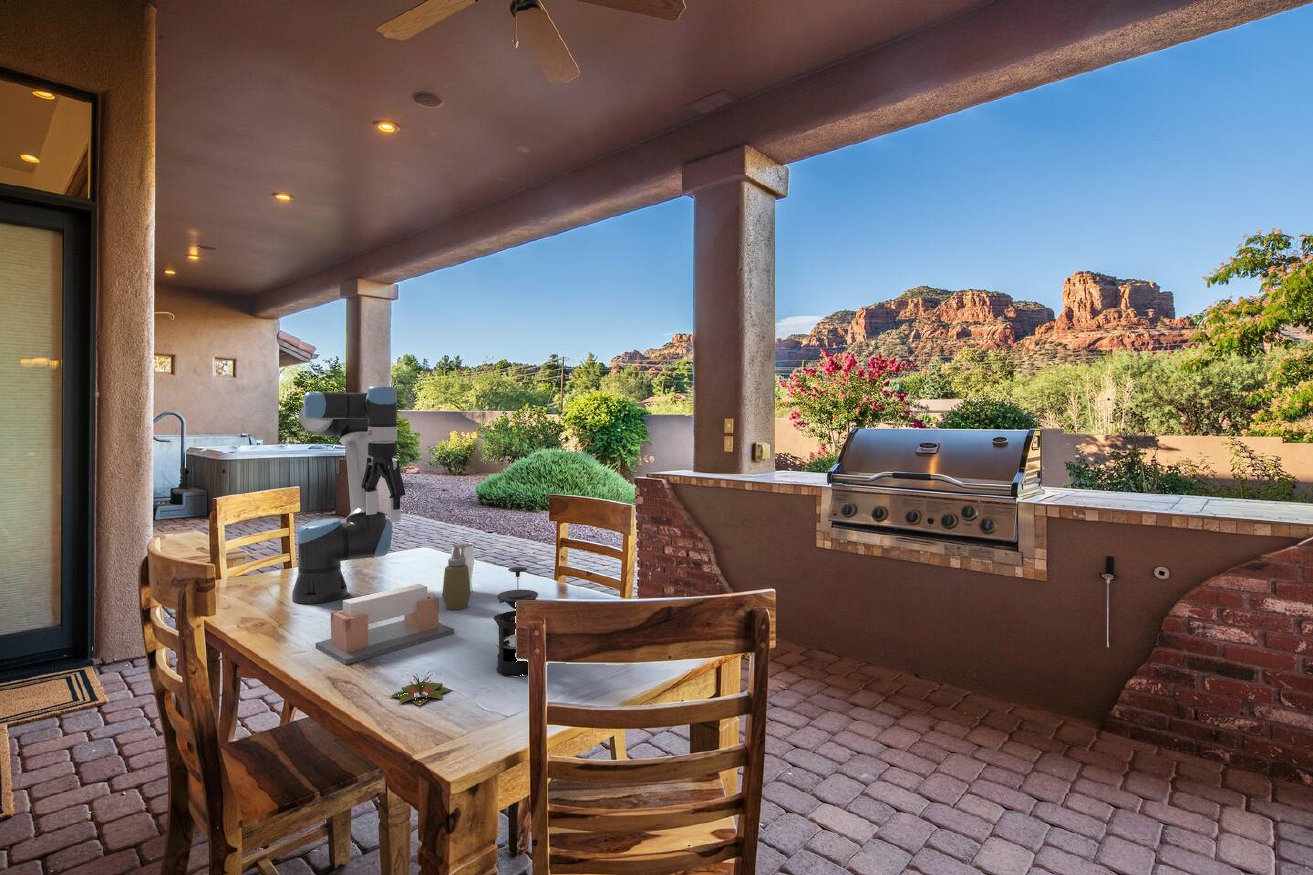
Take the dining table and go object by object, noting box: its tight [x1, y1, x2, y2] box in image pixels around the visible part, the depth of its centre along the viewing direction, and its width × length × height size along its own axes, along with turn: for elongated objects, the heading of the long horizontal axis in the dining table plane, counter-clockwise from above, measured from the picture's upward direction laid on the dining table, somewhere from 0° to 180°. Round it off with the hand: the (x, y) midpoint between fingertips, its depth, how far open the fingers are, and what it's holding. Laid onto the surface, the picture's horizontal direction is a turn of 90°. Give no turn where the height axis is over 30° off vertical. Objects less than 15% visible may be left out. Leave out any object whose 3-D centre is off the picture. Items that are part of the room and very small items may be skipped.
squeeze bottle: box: [441, 546, 472, 610], centre depth 192 cm, size 8×8×18 cm
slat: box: [342, 583, 428, 625], centre depth 164 cm, size 4×20×6 cm, turn 140°
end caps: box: [314, 593, 455, 666], centre depth 165 cm, size 16×28×9 cm, turn 140°
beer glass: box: [450, 542, 475, 594], centre depth 208 cm, size 7×7×15 cm
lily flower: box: [389, 670, 452, 707], centre depth 134 cm, size 12×12×5 cm
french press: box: [496, 566, 539, 677], centre depth 148 cm, size 12×9×23 cm
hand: (382, 517), depth 183 cm, fingers open, 13 cm apart
